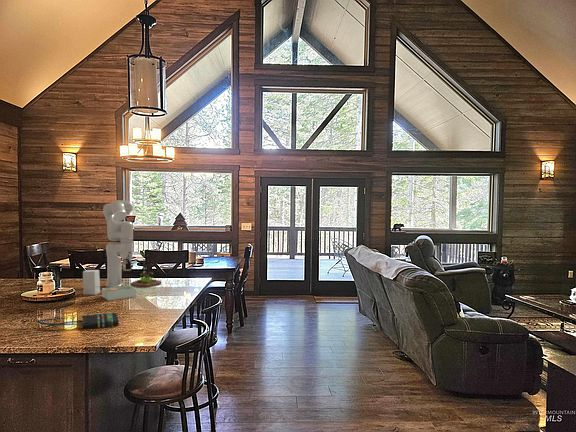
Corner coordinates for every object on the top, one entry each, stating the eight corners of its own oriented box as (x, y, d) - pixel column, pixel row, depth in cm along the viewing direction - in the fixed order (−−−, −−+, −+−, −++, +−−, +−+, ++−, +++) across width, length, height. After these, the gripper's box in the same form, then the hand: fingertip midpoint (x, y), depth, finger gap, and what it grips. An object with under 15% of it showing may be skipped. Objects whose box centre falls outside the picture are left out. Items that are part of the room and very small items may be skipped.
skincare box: (100, 293, 273) (100, 269, 273) (94, 295, 267) (94, 271, 266) (88, 292, 274) (88, 269, 274) (82, 294, 268) (82, 271, 267)
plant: (125, 286, 296) (125, 271, 296) (143, 282, 315) (143, 267, 314) (148, 289, 290) (148, 273, 289) (165, 284, 308) (165, 269, 308)
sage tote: (102, 296, 262) (102, 288, 262) (129, 293, 273) (129, 285, 273) (107, 300, 252) (107, 291, 252) (136, 297, 262) (136, 288, 262)
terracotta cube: (107, 296, 260) (107, 289, 260) (115, 295, 263) (115, 288, 263) (109, 298, 256) (109, 290, 256) (117, 297, 259) (117, 289, 259)
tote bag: (119, 319, 199) (35, 326, 184) (118, 329, 199) (35, 337, 184) (116, 309, 218) (40, 315, 203) (116, 318, 218) (40, 324, 203)
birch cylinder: (121, 270, 266) (121, 259, 266) (129, 269, 269) (129, 258, 269) (124, 270, 262) (124, 260, 262) (132, 270, 265) (132, 259, 265)
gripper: (116, 240, 269) (116, 267, 270) (125, 242, 256) (125, 271, 256) (128, 239, 274) (128, 267, 274) (137, 241, 261) (137, 270, 261)
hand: (126, 268), depth 265 cm, fingers closed on birch cylinder, 4 cm apart
